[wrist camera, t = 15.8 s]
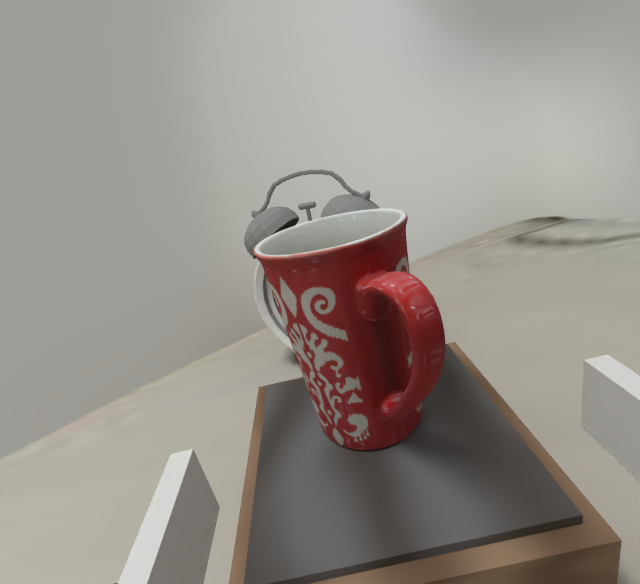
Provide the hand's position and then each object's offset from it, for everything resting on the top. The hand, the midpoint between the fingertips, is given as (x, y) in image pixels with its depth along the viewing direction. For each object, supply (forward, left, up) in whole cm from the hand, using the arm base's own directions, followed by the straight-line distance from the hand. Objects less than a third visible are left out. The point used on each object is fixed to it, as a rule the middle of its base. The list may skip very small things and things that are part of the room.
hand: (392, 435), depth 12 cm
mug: (0, -10, -9) cm, 13 cm away
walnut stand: (0, -10, -15) cm, 18 cm away
